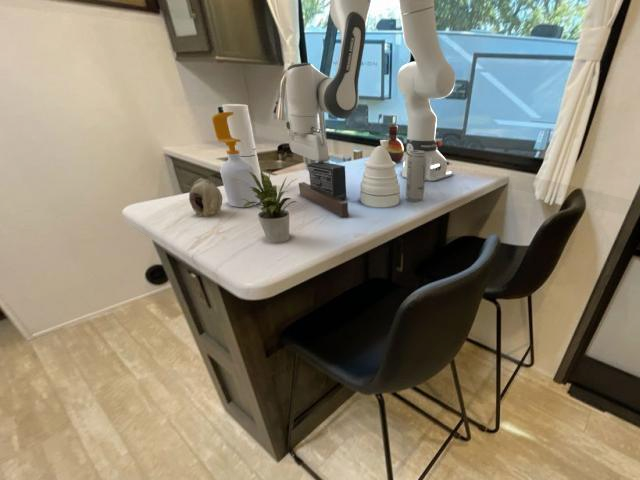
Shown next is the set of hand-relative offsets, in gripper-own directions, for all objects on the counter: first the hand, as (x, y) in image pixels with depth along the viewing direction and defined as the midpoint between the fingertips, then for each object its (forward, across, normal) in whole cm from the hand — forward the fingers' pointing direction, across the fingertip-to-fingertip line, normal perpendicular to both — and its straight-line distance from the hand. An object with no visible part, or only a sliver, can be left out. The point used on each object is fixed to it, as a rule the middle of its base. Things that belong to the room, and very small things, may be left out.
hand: (310, 171), depth 111 cm
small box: (+6, -11, 0) cm, 13 cm away
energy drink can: (+6, -28, -23) cm, 37 cm away
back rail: (+6, -16, +5) cm, 18 cm away
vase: (+6, +23, -56) cm, 61 cm away
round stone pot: (+7, -5, +35) cm, 36 cm away
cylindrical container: (+7, +14, +16) cm, 22 cm away
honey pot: (+6, -23, -12) cm, 27 cm away
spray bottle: (+7, -1, +24) cm, 25 cm away
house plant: (+7, -31, +28) cm, 42 cm away
